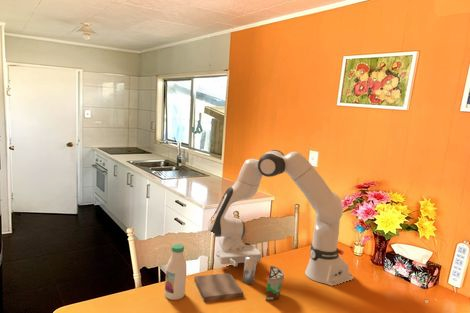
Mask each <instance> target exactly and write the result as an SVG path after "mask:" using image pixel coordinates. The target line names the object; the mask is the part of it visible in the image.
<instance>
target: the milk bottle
mask: <svg viewBox="0 0 470 313" xmlns="http://www.w3.org/2000/svg"><path fill="white" fill-rule="evenodd" d="M184 250H185V246H184V245H183V244H179V243H178V244H177V243H176V244H173V245H172V246H171V255H170V258H169V260H168V261H167V264H166V267H165V268H166V269H165V270H166V271H165V283H164V297H165V298H166V299H168V300H171V301H178V300H181V299H182V298H184V296H185V294H186V282H187V281H186V280H187V262H186V260H185V257H184V252H185V251H184Z"/></svg>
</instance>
